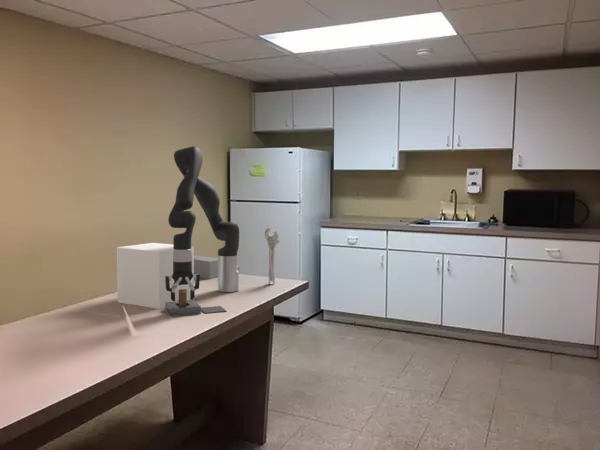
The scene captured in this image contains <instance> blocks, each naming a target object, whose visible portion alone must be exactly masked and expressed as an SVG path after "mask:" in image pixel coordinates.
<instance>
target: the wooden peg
mask: <svg viewBox="0 0 600 450" xmlns="http://www.w3.org/2000/svg"><path fill="white" fill-rule="evenodd" d="M179 306H187V290H186V289H180V290H179Z"/></svg>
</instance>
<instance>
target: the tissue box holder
mask: <svg viewBox="0 0 600 450" xmlns="http://www.w3.org/2000/svg"><path fill="white" fill-rule="evenodd" d="M237 271H238V273H240V266H239V264H238V263H237ZM194 274H199V275H200V279H202V278H203V279H208V280H213V279H218V257H209V256H203V255H195V254H194Z"/></svg>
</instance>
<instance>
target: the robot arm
mask: <svg viewBox="0 0 600 450" xmlns="http://www.w3.org/2000/svg"><path fill="white" fill-rule="evenodd" d="M203 158H204V157H203V153H202V151H201V149H200V148H199V147H198V146H195V145H194V146H188V147H184V148H181V149H176V151H174V152H173V160H174V163H175V165H176V167H177V168H178V170H179V171H180V173H181V174H182V176H183V178H182V180H181V181H180V183H179V185H178V187H177V189H176V196H175V202H174V203H173V206H172V209H171V210H170V213H169V214H168V224H169V226H170V227H171V228H172V229H185V231H184V232H181V233H177V234H175V235H173V243H172V245H173V274H172V276H165V284H166V290H167V291H170V292H171V300H172V301H175V292H174V291H175V289H176V288H177V287H178V285H187V284H188V286H189V287H190V289H191V290H190V299H191V300H194V299H195V291H197V290H199V289H200V282H201V280H200V279H201V277H200V275H199V274H192V251H191V246H192V236H193V231H194V228H195V224H196V220H197V218H196V214H195V212H194V211H192V210H190V209H191V208H192V207H193V205H194V196H195V198H196V200H197V202H198V203H199V205H200V207H201V208H202V210H203V213H204V214H205V216H206V218H207V221H208V222H209V225H210V227H211V230H212V232H213V234H214V237H215V238H216V239H217V240H219V241H223V242H225V244H224V246H223V247H220V248H219V249H218V250H217V258H218V277H217V291H218V292H220V293H233V292H238V291H239V272H238V271H237V264H238V251H239V246H240V245H239V244H240V227H239V224H238V223H236V222H232V221H225V220H223V218H222V216H221V214H220V203H221V202H220V201H221V200H220V197H219V195H218V193H217V191H216V189H215V186H213V185H212V183H210V182H208V181H207V180H206V179H204V178H202V177H201V176H199V175H200V172H201V168H202V165H203V161H204V160H203ZM193 277H194V287H193V285H192V283H191V282H190V281H191V279H192V278H193ZM172 278H173V280H174V283H173V286H172V287H171V288H170V284H169V281H171V279H172ZM193 298H194V299H193Z"/></svg>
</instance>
